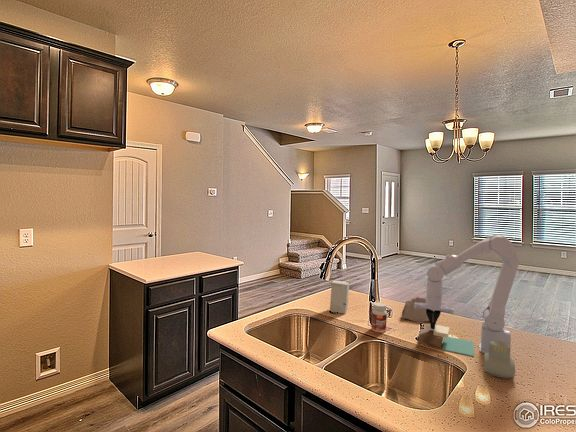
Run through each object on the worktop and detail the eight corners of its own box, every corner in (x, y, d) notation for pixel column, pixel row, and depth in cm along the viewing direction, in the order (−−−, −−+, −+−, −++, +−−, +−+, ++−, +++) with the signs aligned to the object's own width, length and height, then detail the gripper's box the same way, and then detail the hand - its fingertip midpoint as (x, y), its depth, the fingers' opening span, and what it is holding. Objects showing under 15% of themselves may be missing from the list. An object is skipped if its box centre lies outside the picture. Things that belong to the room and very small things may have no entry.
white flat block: (449, 330, 135) (449, 327, 135) (447, 337, 128) (447, 334, 128) (435, 328, 138) (435, 324, 138) (433, 335, 131) (433, 331, 131)
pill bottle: (376, 333, 141) (377, 307, 141) (368, 328, 147) (369, 302, 146) (389, 332, 143) (390, 306, 142) (380, 326, 149) (381, 301, 148)
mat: (473, 342, 134) (473, 341, 134) (473, 356, 122) (473, 355, 122) (444, 336, 139) (444, 335, 139) (442, 350, 127) (442, 349, 127)
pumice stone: (401, 320, 158) (402, 299, 157) (401, 314, 165) (401, 294, 164) (436, 324, 153) (437, 302, 153) (434, 318, 161) (435, 298, 160)
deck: (442, 337, 138) (443, 328, 138) (440, 348, 128) (441, 338, 128) (422, 333, 142) (422, 324, 142) (418, 344, 132) (419, 334, 131)
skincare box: (329, 311, 167) (330, 282, 166) (332, 308, 172) (333, 279, 172) (346, 314, 164) (347, 284, 163) (348, 310, 170) (349, 281, 169)
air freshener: (515, 384, 104) (517, 353, 103) (484, 377, 108) (485, 347, 107) (511, 369, 113) (513, 340, 113) (483, 363, 117) (485, 335, 117)
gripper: (413, 294, 135) (412, 327, 135) (453, 300, 128) (452, 335, 129) (416, 290, 141) (414, 322, 142) (454, 296, 134) (452, 329, 135)
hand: (432, 328), depth 136 cm, fingers closed
